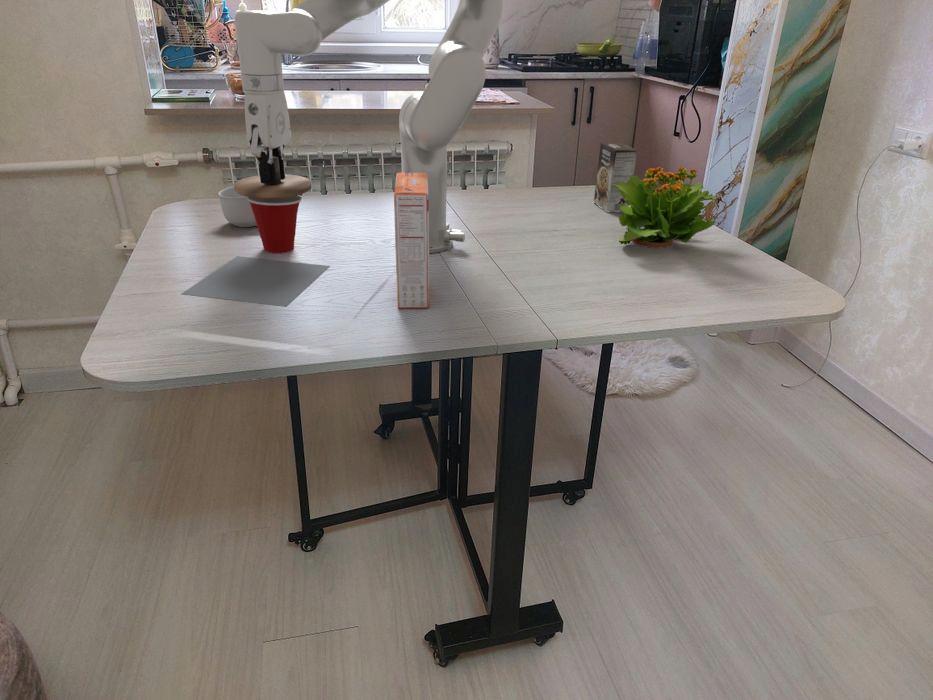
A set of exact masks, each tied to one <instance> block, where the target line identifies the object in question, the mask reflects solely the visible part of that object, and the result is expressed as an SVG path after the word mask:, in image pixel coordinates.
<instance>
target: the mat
mask: <svg viewBox="0 0 933 700" xmlns="http://www.w3.org/2000/svg"><path fill="white" fill-rule="evenodd" d="M330 267H331V266H330V265H324V264H316V263H315V264H314V263H307V262H305V263H304V262H298V261H285V260H277V259H269V258H268V259H267V258H259V257H247V256H239V255H237V256H235V257H233V258H232V259H231V260H229V261H228V262H227V263H225V264H223V265H222V266H220V267H219V268H217V269H216V270H214V271H213V272H211V273H210V274H208V275H207V276H206V277H204V278H202V279H201V280H199V281H198V282H196V283H194V285H192V286H191V287H189V288H188V289H186V290H184V291H183V292H182V293H181V295H185V296H186V295H187V296H195V297H202V298H204V297H205V298H210V299H219V300H226V301H227V300H228V301H234V302H235V301H237V302H242V303H243V302H244V303H252V304H261V305H269V306H270V305H271V306H278V307H288V306H289V305H291V303H292V302H293V301H294V300H295V299H297V297H298V296H300V295H301V294H302V293H303V292H304V291H305V290H306V289H307V288H308V287H310V286H311V284H313V283H314V282H315V281H316V280H317V279H318V278H319V277H320V276H321V275H322V274H324V272H326V271H327V270H328V269H329V268H330Z"/></svg>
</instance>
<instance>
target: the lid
mask: <svg viewBox="0 0 933 700" xmlns="http://www.w3.org/2000/svg"><path fill="white" fill-rule="evenodd" d="M272 158H273V163H274V164H275V170H276V180H277V183H276V184H264V183H261V181H260V174H257V175H252V176H248V177H244V178H241V179H239V180H237V181H235V182H234V183H233V186H234V189H235V192H236V193H238V194H240V195H243V196H247V197H253V198H283V197H290V196H296V195H299V196H300V195H302V194H305V193H307V192H309V191H310V190H312V182H311V180H310V179H309V178H308V177H304V176H301V175H295V174H294V175H293V174H286V173H285V179H283V180H281V177H280V167H279V158H278V157H275V156H272Z"/></svg>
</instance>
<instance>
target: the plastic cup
mask: <svg viewBox="0 0 933 700" xmlns="http://www.w3.org/2000/svg"><path fill="white" fill-rule="evenodd" d="M302 198H303V197H302V196H300V195H296V196H290V197H283V198H253V197H247V200H248V201H249V202H250V205H251V208H252V211H253V213H254V217H255V220H256V224H257V225H256V227H257V231H258V234H259V238H260V239H261V243H262V247H263V250H264V251H265V252H267V253H269V254H284V253H289V252H291V251H293V250H294V249H295V238H296V231H297V230H296V229H297V219H298V218H297V217H298V212H299V206H300V202H301V201H302Z"/></svg>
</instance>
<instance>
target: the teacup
mask: <svg viewBox="0 0 933 700" xmlns="http://www.w3.org/2000/svg"><path fill="white" fill-rule="evenodd" d="M218 197H219V201H220V207H221V210H222V214H223V216H224V219H226V221H227V222H229V223H230V224H232V225H234V226H235V227H237V226H238V228H250V227H257V224H256V220H255V217H254V213H253V211H252V208H251V205H250V202H249V201H248V200H247V196H243V195H240V194H238V193H236V192H235V189H234V185H233V186H231V187H227V188H224V189H222V190H220V191H219V192H218Z"/></svg>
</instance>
